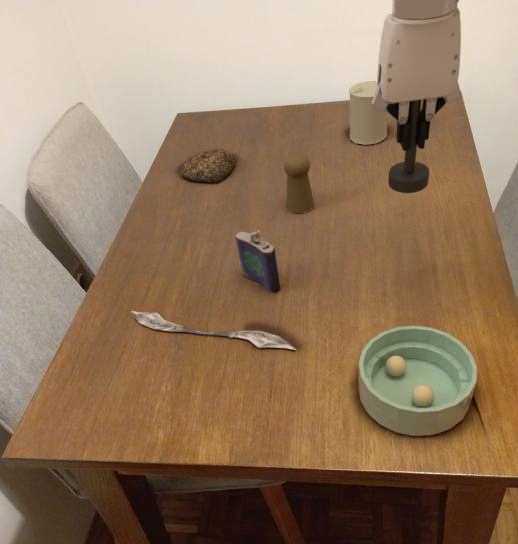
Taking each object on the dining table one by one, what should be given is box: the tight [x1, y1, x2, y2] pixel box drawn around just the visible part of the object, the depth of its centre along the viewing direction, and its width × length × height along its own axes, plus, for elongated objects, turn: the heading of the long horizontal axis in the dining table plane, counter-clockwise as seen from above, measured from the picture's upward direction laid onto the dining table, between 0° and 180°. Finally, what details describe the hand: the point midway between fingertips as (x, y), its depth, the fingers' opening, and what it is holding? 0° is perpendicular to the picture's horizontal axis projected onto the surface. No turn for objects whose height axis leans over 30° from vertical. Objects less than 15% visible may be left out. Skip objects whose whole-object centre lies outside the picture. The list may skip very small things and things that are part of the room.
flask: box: [235, 229, 282, 294], centre depth 93 cm, size 9×3×11 cm, turn 43°
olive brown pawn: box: [283, 153, 315, 214], centre depth 108 cm, size 6×6×11 cm
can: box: [348, 80, 389, 144], centre depth 125 cm, size 9×9×12 cm
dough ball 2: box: [412, 385, 435, 407], centre depth 72 cm, size 3×3×3 cm
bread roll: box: [180, 148, 236, 184], centre depth 126 cm, size 13×12×5 cm
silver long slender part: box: [130, 310, 297, 351], centre depth 89 cm, size 32×1×5 cm
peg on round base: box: [387, 100, 430, 194], centre depth 77 cm, size 6×6×13 cm
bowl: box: [357, 325, 478, 437], centre depth 73 cm, size 15×15×6 cm
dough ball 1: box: [385, 356, 407, 376], centre depth 76 cm, size 3×3×3 cm
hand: (411, 144), depth 77 cm, fingers closed on peg on round base
